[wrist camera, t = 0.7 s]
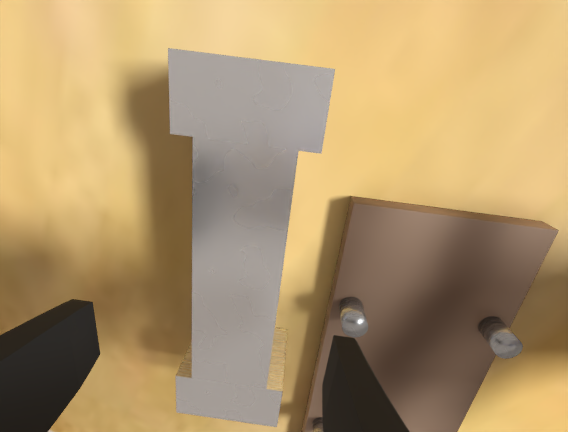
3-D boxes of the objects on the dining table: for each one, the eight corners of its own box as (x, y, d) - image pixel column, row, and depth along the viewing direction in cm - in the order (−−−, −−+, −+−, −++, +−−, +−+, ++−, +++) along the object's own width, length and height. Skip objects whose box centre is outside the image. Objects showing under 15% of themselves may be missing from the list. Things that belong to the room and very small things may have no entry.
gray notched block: (326, 75, 13) (335, 69, 9) (282, 361, 19) (276, 427, 15) (207, 60, 13) (168, 48, 9) (201, 349, 19) (176, 412, 15)
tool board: (542, 221, 14) (587, 246, 12) (421, 477, 22) (434, 522, 20) (351, 196, 15) (359, 216, 12) (295, 458, 22) (294, 501, 20)
